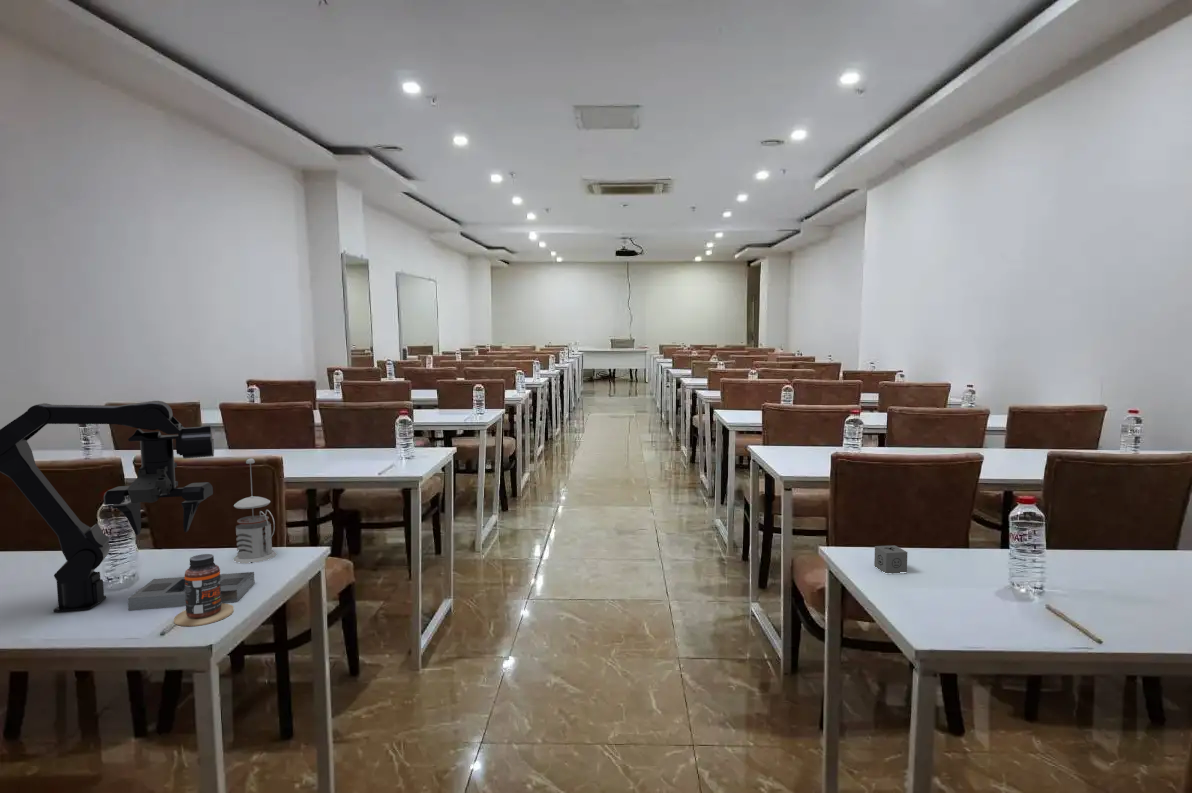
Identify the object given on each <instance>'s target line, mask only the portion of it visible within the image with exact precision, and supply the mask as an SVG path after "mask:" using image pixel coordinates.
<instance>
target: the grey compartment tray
mask: <svg viewBox="0 0 1192 793" xmlns="http://www.w3.org/2000/svg"><path fill="white" fill-rule="evenodd" d="M255 582H256V581H255V572H254V571H249V572H235V573H233V572H232V573H220V583H221V597H222V598H221V603H224V604H229V603H238V602H239V601H240V600H241V599H242V598H243V597H244V595H245V594H246V593H247V592H248V591H249V589H251V587H252V586H254V585H255ZM127 607H128V608H127V609H128V611H139V610H150V609H153V610H154V609H163V608H164V609H165V608H177V607H186V599H185V576H177V577H163V578H153V579H152V580H151V581H149V582H148V583H146V584H144V586H142V587H141V588H139V589H138V590H136V592H135V593H133V594H131V595H130V596H129V597H127Z"/></svg>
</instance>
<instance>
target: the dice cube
mask: <svg viewBox="0 0 1192 793" xmlns="http://www.w3.org/2000/svg"><path fill="white" fill-rule="evenodd" d="M873 566H875V567H877V568H878V569H880V570H881V571H880V570H879V571H880V572H882V571H883V572H885V573H900V572H907V573H908V551H906V550H904V549H902V548H901V547H899V546H897V545H876V546H874V565H873ZM875 567H874V568H875ZM877 568H876V569H877ZM878 569H877V570H878ZM883 572H882V573H883ZM885 573H884V574H885Z"/></svg>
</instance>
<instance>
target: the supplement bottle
mask: <svg viewBox="0 0 1192 793" xmlns="http://www.w3.org/2000/svg"><path fill="white" fill-rule="evenodd" d="M220 574H221V569H220V567H219V565H218V564H216V563H215V558H214V554H210V553H204V554H203V553H202V554H197V555H192V556H190V558H189V567H188V568H187V569H186V570H185V572H184V577H185V590H184V592H185V599H186V606H185V610H186V614H187V616H188V617H191V618H204V617H208V616H212V615H214V614H216V613H218V612H219V611H220V610H221V598H222V597H221V583H220Z"/></svg>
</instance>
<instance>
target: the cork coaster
mask: <svg viewBox="0 0 1192 793" xmlns="http://www.w3.org/2000/svg"><path fill="white" fill-rule="evenodd" d="M234 610H235V609H234V606H233V605H232V604H229V603H221V610H220V611H219V612H218V613H216V614H214V615H212V616H208V617H204V618H191V617H188V616H187V614H186V609H185V610H183V611H181V612H179V613H178V614H176V616H174V619H173V623H174V624H175V625H176V626H179V627H199V626H204V625H205V626H206V625H210V624H213V623H216V622H220V621H222V620H224V619H226V618H228V617H230V616H231V615H232V614H233V613H234Z"/></svg>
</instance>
